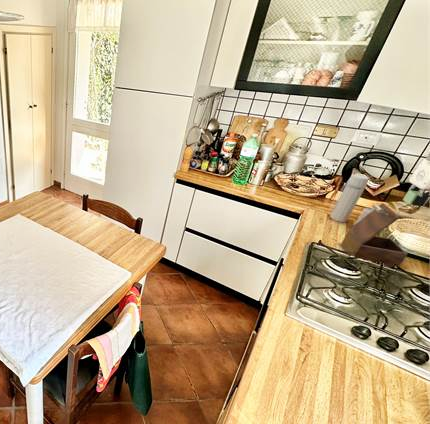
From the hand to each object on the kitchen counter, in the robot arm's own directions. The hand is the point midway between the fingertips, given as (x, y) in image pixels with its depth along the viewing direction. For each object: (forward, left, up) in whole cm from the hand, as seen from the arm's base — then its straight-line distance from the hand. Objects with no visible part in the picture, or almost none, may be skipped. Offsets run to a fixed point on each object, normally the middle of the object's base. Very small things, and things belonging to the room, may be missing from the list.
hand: (413, 202), depth 122 cm
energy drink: (+20, -18, -28) cm, 39 cm away
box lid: (+4, +6, -12) cm, 14 cm away
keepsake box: (+2, +3, -28) cm, 28 cm away
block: (0, 0, 0) cm, 0 cm away
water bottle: (+32, -18, -28) cm, 46 cm away
